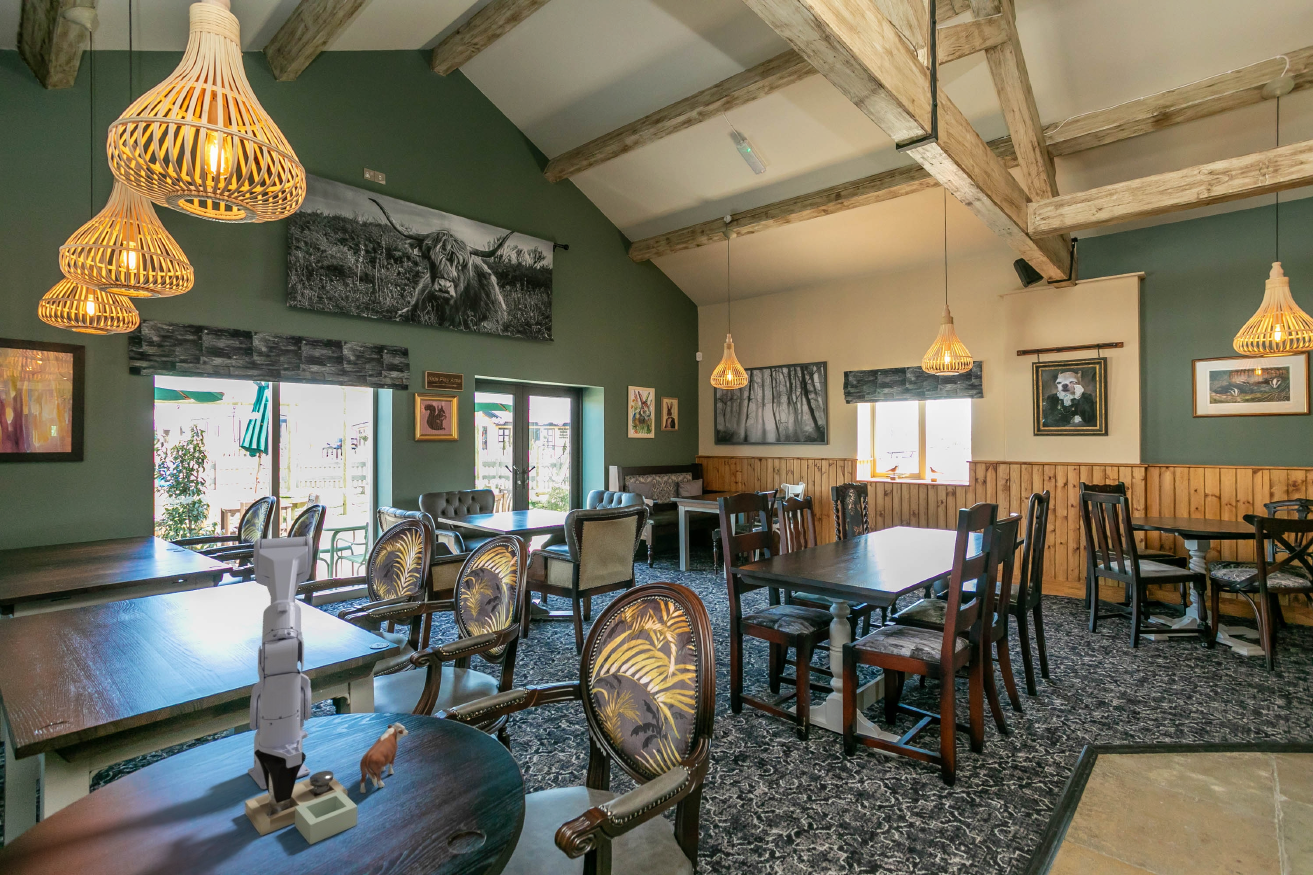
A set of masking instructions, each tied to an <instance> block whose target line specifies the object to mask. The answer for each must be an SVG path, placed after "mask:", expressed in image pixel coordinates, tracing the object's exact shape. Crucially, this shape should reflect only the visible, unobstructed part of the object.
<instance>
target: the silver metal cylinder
mask: <svg viewBox="0 0 1313 875" xmlns="http://www.w3.org/2000/svg"><path fill="white" fill-rule="evenodd" d="M290 808H291V807H290V799H288V800H285V801H282V802H280V803H276V801H275V798H274V793H273V785H272V780H271V776H270V774H269V814H268V815H267V816H271V815H274V814H276V813H279V812H282V811H284V810H287V809H290Z"/></svg>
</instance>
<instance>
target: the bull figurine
mask: <svg viewBox="0 0 1313 875" xmlns="http://www.w3.org/2000/svg"><path fill="white" fill-rule="evenodd" d="M387 728H388V729H386V730H385V731H384V733H383V734H382V735H381V736H380V737H379V738H378V739H377V740H376V741H375V743H374V744H372V746H371V747H369V749H368V750H367V751H366V752H365V754H363V756H362V758H361V760H360V764H359V768H360V772H361V773H360V774H361V779H360V780H359V783H360V789H359V792H360V794H365V793H366V792H367V790H366V788H365V787H366V786H365V783H366V781H367V780H366V779H367V776H368V778H369V779H371V782H372V784H373V786H374V787H378V788H382V787H383V788H384V787H385V786H386V785H385V783H384V782H383V780H382V775H381V774H382V772H385V771H386V770H385V769H386V766H388V770H387V775H390V774H393V773H394V774H395V772H394V769H393V765H394V764H395V759H396V755H397V751H398V747H399V746H398V742H400V740H401V739H402V738H403V737H408V735H409V731H408V730H407V729H406V727H405V726H404V725H402V724H401V723H400V722H395V723H394V724H393V725H392V724H388V725H387ZM384 770H385V771H384ZM394 774H393V775H394Z"/></svg>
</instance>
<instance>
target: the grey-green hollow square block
mask: <svg viewBox="0 0 1313 875" xmlns="http://www.w3.org/2000/svg"><path fill="white" fill-rule="evenodd" d="M357 825H358V805H357V804H355V802H354V801H352V799H350V797H348V795H347V796H346V795H345V794H344V793H343V792H342V791H341V790H340V791H337V792H334V793H332V794H329V795H326V796H324V797H321V798H318V799H316V800H313V801H310V802H308V803H305V804H303V805H300V806H297V807H295V823H294V826H295V828H296V829H297V830H298V832H299V833H300V834H301V835H302V837H303V838H304V839H305V840H306V841H307V843H308V844H309V845H313V844H315V843H317V842H320V841H323V840H324V839H325V840H326V839H327V838H330V837H332V836H334V835H337V834H339V833H342V832H344V831H346V830H349V829H351V828H354V827H355V826H357Z"/></svg>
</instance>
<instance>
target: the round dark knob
mask: <svg viewBox="0 0 1313 875" xmlns="http://www.w3.org/2000/svg"><path fill="white" fill-rule="evenodd" d="M333 777H334V772H333V771H332V770H331V771H330V770H322V771H318V772H315V773H313V774H312V775H311V776H310V777H309V779H310V785H311V786H314V789H313V796H314V797H316V796H319V795H321V794H324V793H327V792H329V783H330V782H331V781H332V780H333Z"/></svg>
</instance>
